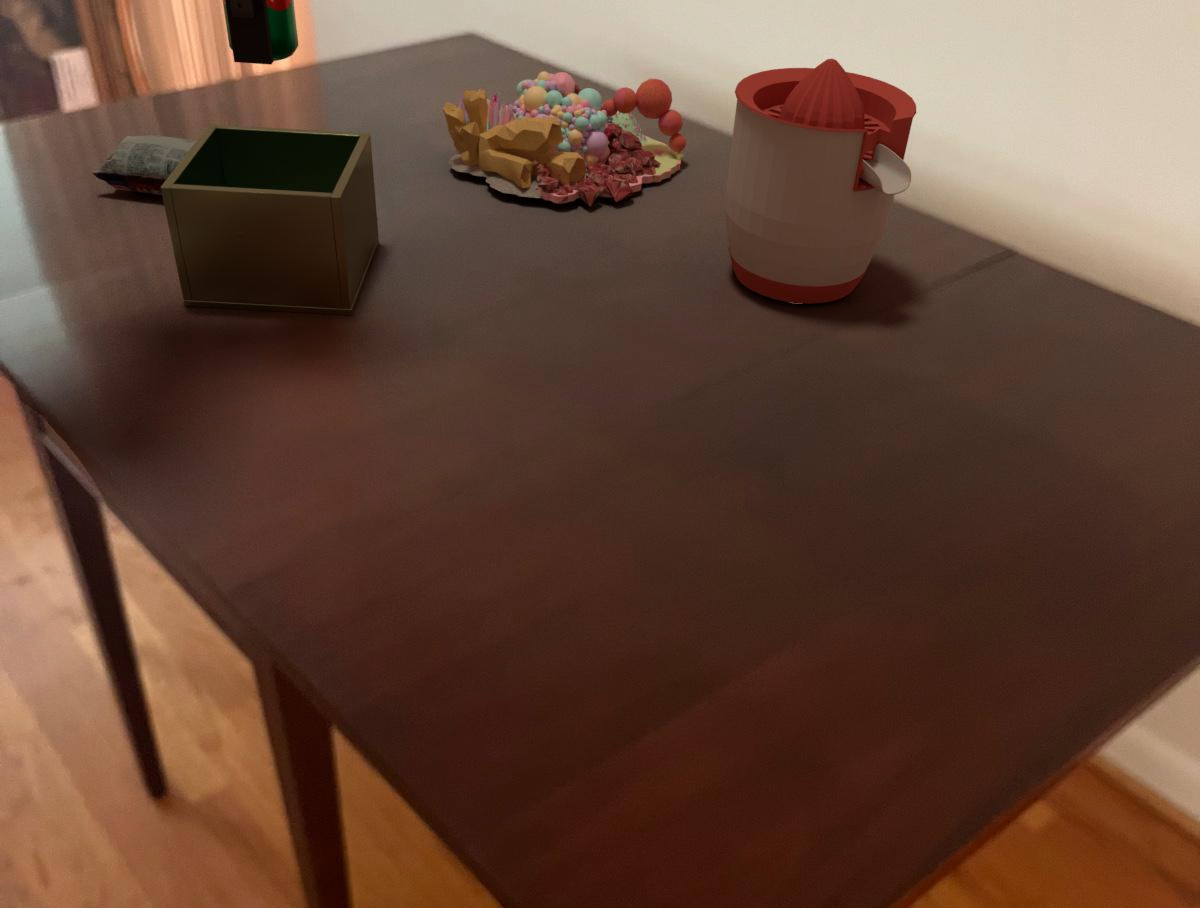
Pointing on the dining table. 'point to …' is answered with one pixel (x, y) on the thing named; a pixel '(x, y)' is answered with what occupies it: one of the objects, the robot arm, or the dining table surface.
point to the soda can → (278, 27)
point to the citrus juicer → (813, 178)
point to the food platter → (565, 139)
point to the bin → (273, 219)
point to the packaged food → (143, 162)
